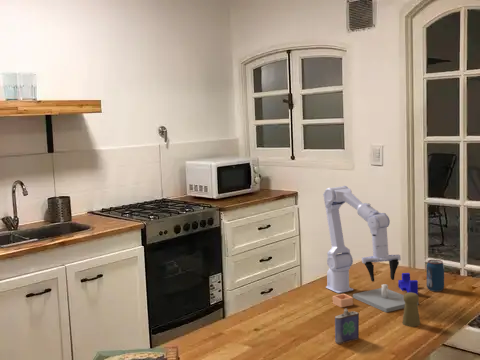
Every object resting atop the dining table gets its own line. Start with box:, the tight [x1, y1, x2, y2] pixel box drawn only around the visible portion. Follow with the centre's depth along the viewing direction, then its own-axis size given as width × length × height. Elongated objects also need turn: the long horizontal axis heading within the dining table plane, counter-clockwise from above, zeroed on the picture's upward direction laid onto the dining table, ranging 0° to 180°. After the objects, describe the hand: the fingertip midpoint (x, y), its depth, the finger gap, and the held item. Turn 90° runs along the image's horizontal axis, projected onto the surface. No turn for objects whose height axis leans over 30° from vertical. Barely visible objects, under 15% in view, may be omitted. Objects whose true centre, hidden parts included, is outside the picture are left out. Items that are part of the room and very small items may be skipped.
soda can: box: [426, 259, 445, 292], centre depth 231 cm, size 7×7×12 cm
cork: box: [402, 292, 421, 328], centre depth 196 cm, size 6×6×11 cm
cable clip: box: [397, 272, 419, 296], centre depth 232 cm, size 12×4×6 cm, turn 0°
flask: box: [334, 307, 360, 345], centre depth 184 cm, size 9×3×11 cm, turn 117°
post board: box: [352, 283, 419, 313], centre depth 220 cm, size 20×16×6 cm
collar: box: [332, 293, 354, 308], centre depth 219 cm, size 6×6×3 cm
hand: (382, 280), depth 214 cm, fingers open, 7 cm apart
